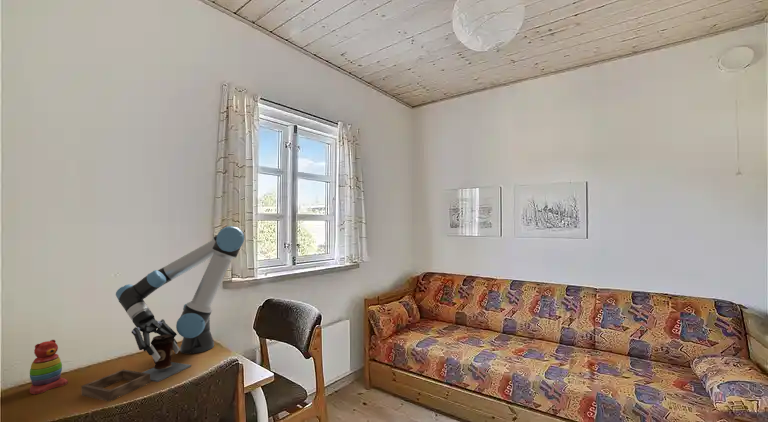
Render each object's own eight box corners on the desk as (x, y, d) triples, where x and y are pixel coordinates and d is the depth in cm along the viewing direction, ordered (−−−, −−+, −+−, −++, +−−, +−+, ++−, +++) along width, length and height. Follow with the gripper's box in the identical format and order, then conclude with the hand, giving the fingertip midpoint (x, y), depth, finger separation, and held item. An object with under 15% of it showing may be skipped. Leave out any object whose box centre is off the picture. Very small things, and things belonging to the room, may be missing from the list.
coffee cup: (163, 371, 149) (162, 340, 149) (146, 370, 151) (145, 339, 151) (179, 363, 158) (178, 333, 158) (162, 362, 160) (162, 332, 160)
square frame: (123, 377, 149) (123, 369, 149) (150, 382, 144) (150, 373, 144) (81, 395, 135) (81, 386, 135) (109, 401, 130) (109, 391, 130)
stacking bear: (34, 395, 136) (33, 348, 136) (22, 390, 141) (22, 344, 141) (69, 383, 146) (69, 339, 146) (57, 379, 150) (57, 335, 151)
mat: (168, 362, 164) (168, 361, 164) (191, 366, 159) (191, 364, 159) (133, 377, 149) (133, 376, 149) (157, 382, 144) (157, 380, 144)
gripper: (159, 314, 170) (185, 352, 164) (111, 327, 150) (139, 371, 144) (167, 303, 168) (194, 341, 163) (120, 315, 148) (148, 359, 142)
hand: (168, 355), depth 153 cm, fingers closed on coffee cup, 9 cm apart
